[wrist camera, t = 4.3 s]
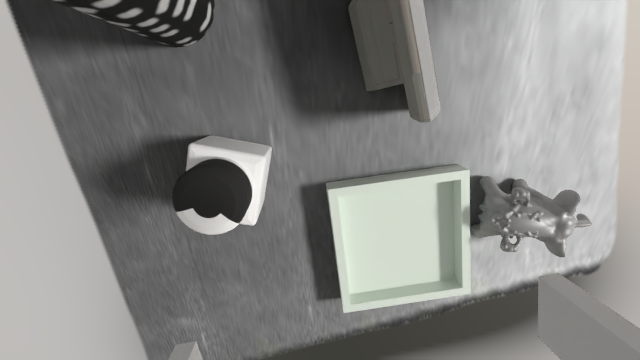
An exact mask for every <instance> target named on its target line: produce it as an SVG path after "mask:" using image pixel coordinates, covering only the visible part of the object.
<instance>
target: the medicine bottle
mask: <svg viewBox="0 0 640 360" xmlns="http://www.w3.org/2000/svg"><path fill="white" fill-rule="evenodd" d="M271 152H272V147H271V146H268V145H263V144H257V143H252V142H246V141H241V140H235V139H230V138H224V137H219V136H213V135H210V136H208V137H205V138H203V139H200V140H198V141H195V142H193V143H191V144H189V146H188V155H187V166H186V171H185V172H184V173H183V174H182V175H181V176H180V177H179V178H178V180H177V182H176V184H175V186H174V189H173V196H172V198H173V205H174V209H175V211H176V213H177V215H178V217H179V218H180V219H181V221H182V222H183V223H184V224H186V225H187V226H188V227H189V228H191V229H193V230H195V231H197V232H200V233H203V234H210V235H215V234H222V233H225V232H228V231H230V230H232V229H233V228H235V227H236V226H237V225H238V224H245V225H251V226H253V225H255V224H256V222H257V219H258V216H259V213H260V211H261V208H262V205H263V202H264V197H265V190H266V184H267V178H268V171H269V165H270V159H271Z"/></svg>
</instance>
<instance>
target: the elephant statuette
mask: <svg viewBox="0 0 640 360" xmlns="http://www.w3.org/2000/svg"><path fill="white" fill-rule="evenodd" d="M479 183H480V185H481V187H483V189H484V191H485V194H486V197H485V199H484V203H483V204H481V205H480V206H479V208H480V209H481V210H482V211H483V212H482V213H480V214H478V217H479V219H480V225H479V224H474V225H472V226H471V231H472V232H473V234H474V235H475V236H476V237H487V236H493V235H501V236H502V237H503V239H502V241H501V244H500V248H501V249H502V250H503V251H506V252H516V251H517V250H518V247H519V245H520V242H521V239H522V238H524V237H533V238H536V239H538V240H540V241H543V242H544V243H545V245H546V247H547V248H548V250H549V251H550V252H551V253H553V254H554V255H556V256H558V257H565V249H566V239H567V237H568V236H570V235H571V234H572V232H573V229H574V228H576V227H586V226H590V225H592V223H591V222H590V220H589V219H588V218H587V217H586V216H585V215H583V214H578V215H577V219H578V220H576V219H575V218H574V216H573V214H574V213H575V211H576V207H577V205H578V204H579V202H580V196H579V194H578V193H577V192H575V191H572V190H564V191H562V192H560V193H559V194H558V195H557V196H556V197H555V198H554V199H553V200H552V199H550V198H548V197H546V196H544V195H542V194H541V193H539V192H538V191H536V190H533V189H531V188H530V187H528V185H527V183H526V181H525V180H523V179H517V180H516V181H514V182H513V184H512V188H513V190H512V192H511V195H510V196H509V195H507V194H506V193H504V192H503V191H501V190H500V189H499V187H498V186H497V185H496V183H495V181H494V179H493V178H491V177H489V176H485V177H483V178H481V179H480V181H479ZM513 236H516V238H517V242H516V243H515V244H512V243H510V242H509V240H508V237H510V238H513Z"/></svg>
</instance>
